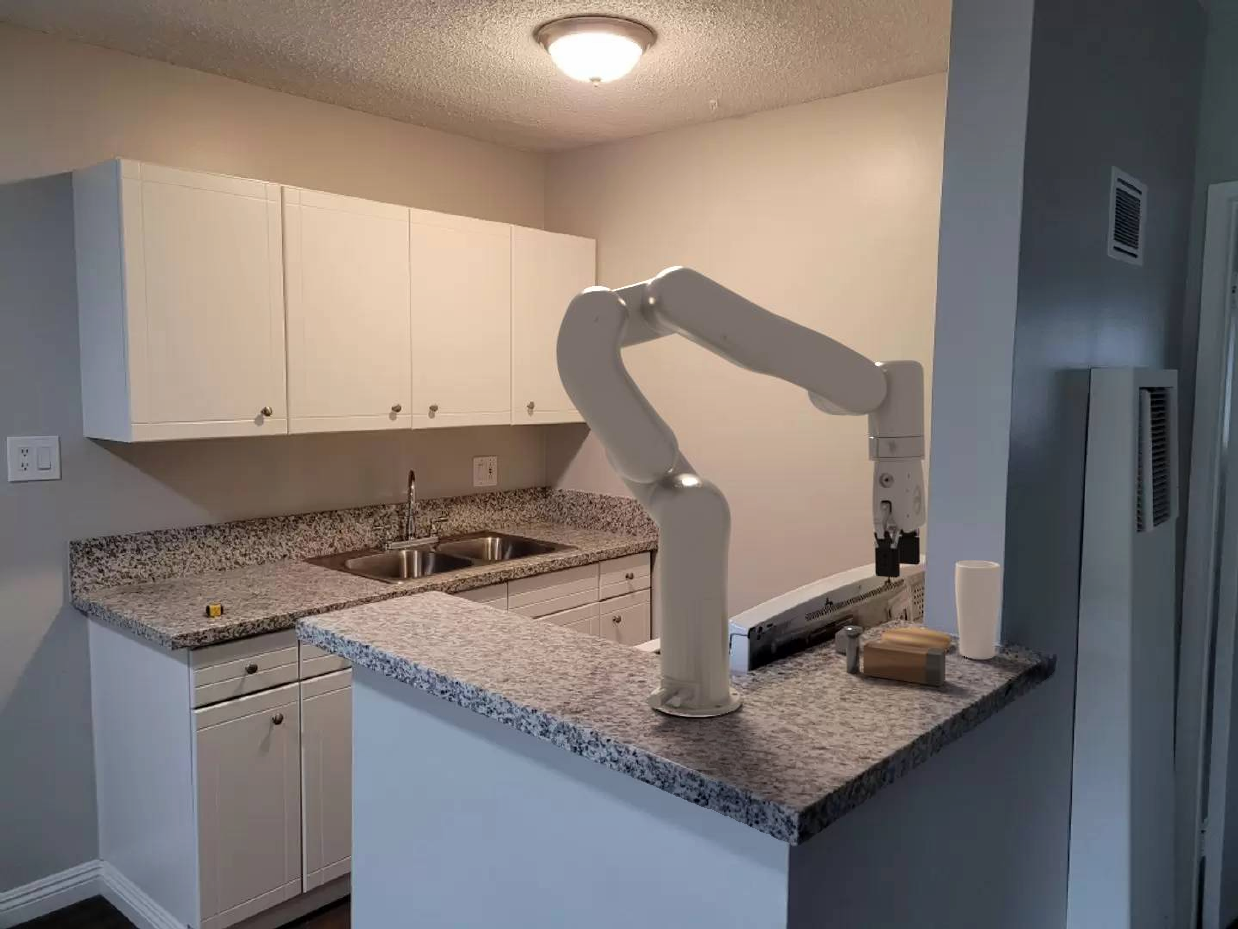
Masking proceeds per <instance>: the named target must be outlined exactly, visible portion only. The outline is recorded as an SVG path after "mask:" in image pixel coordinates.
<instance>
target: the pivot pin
mask: <svg viewBox="0 0 1238 929" xmlns="http://www.w3.org/2000/svg"><path fill="white" fill-rule="evenodd" d="M843 629H844V634H846V653H845V654H846V660H845V661H846V673H848V674H860V673H861V636H862V635H863V632H864V631H863V627H862V626H859V625H846V626H844V627H843Z"/></svg>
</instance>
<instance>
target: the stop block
mask: <svg viewBox="0 0 1238 929" xmlns="http://www.w3.org/2000/svg"><path fill="white" fill-rule="evenodd" d="M834 636H835V637H834V641H835V642H834V644H835V648H834V649H835V651H834V652H835V653H840V654H841V653H842V654H846V634H844V628H841V629H840V630H839V631H837V632H836V633H835V634H834Z"/></svg>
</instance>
